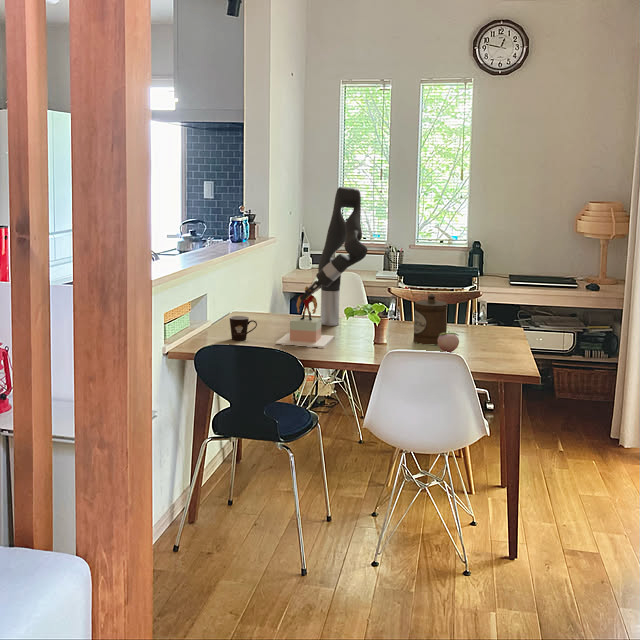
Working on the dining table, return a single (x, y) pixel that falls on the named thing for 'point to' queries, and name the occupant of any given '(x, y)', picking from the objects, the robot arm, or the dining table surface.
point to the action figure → (307, 304)
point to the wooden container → (429, 320)
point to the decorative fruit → (448, 341)
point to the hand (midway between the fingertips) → (303, 298)
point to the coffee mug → (240, 327)
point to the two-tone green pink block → (305, 333)
